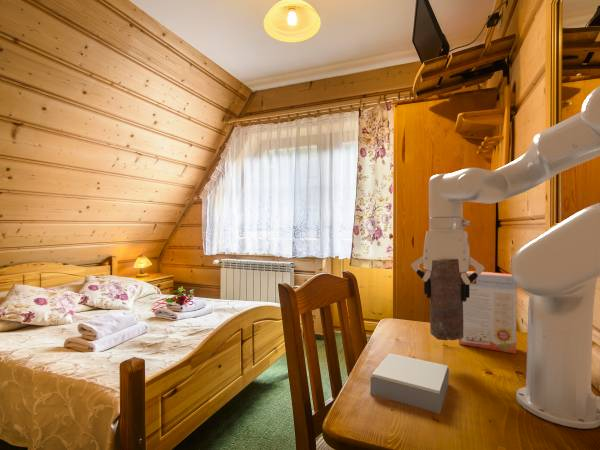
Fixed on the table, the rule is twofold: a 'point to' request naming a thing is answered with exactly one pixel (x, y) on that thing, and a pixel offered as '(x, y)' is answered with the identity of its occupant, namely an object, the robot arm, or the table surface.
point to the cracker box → (491, 312)
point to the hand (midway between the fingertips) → (446, 298)
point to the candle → (446, 300)
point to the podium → (411, 382)
